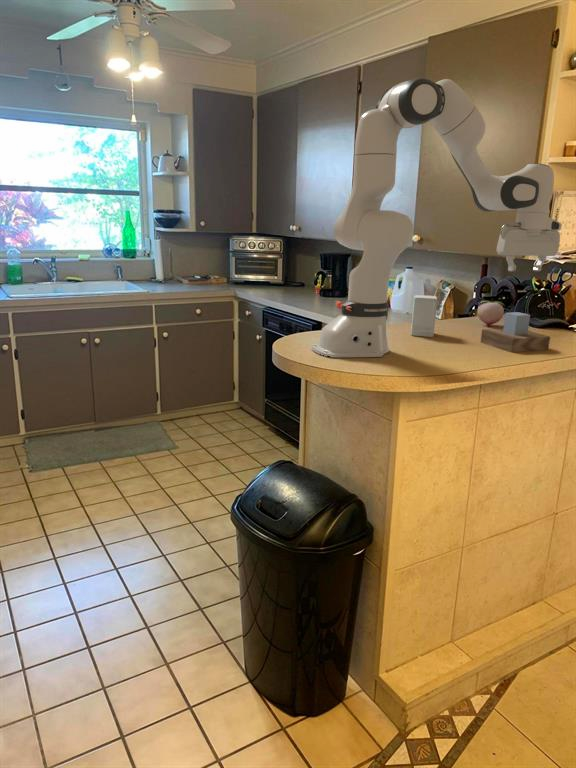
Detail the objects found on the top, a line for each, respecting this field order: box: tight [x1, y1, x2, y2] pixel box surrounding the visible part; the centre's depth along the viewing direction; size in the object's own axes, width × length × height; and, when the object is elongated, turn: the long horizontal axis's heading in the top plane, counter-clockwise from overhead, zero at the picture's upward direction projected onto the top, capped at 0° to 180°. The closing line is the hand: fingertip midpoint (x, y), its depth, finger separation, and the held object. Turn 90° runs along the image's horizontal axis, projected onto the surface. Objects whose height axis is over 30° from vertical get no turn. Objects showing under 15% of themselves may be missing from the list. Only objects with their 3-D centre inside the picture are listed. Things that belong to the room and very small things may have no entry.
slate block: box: [502, 311, 531, 335], centre depth 177 cm, size 5×5×6 cm
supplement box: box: [410, 294, 438, 338], centre depth 190 cm, size 7×7×13 cm
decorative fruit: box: [477, 298, 506, 326], centre depth 209 cm, size 9×8×10 cm
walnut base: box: [480, 328, 551, 353], centre depth 178 cm, size 14×14×4 cm
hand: (524, 271), depth 172 cm, fingers open, 8 cm apart
